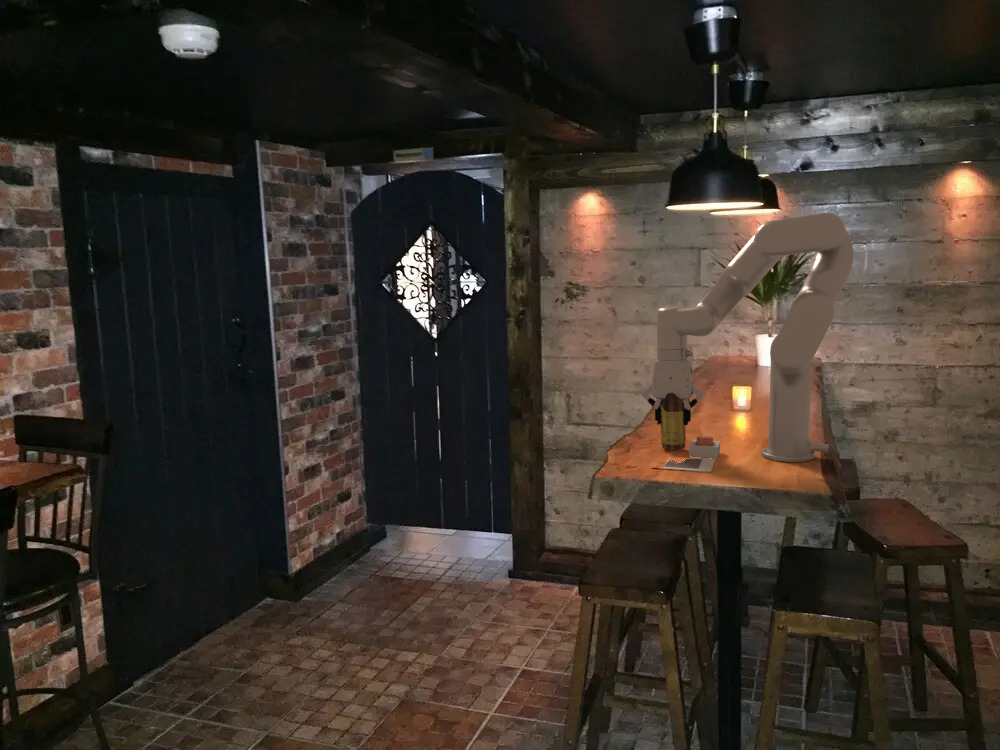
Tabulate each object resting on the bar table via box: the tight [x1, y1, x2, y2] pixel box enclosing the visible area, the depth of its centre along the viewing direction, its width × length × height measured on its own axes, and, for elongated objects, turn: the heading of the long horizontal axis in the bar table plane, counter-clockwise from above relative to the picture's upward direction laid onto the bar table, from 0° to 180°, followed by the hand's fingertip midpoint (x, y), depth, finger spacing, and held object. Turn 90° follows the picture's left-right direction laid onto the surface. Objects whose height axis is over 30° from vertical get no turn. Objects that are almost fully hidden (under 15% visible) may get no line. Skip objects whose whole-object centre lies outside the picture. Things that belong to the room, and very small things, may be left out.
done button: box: [696, 435, 714, 446], centre depth 209 cm, size 4×4×3 cm
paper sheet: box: [661, 457, 716, 473], centre depth 201 cm, size 14×12×1 cm
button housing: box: [688, 439, 721, 460], centre depth 210 cm, size 7×7×3 cm
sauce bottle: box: [660, 377, 687, 451], centre depth 214 cm, size 7×6×20 cm
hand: (672, 423), depth 215 cm, fingers closed on sauce bottle, 6 cm apart
